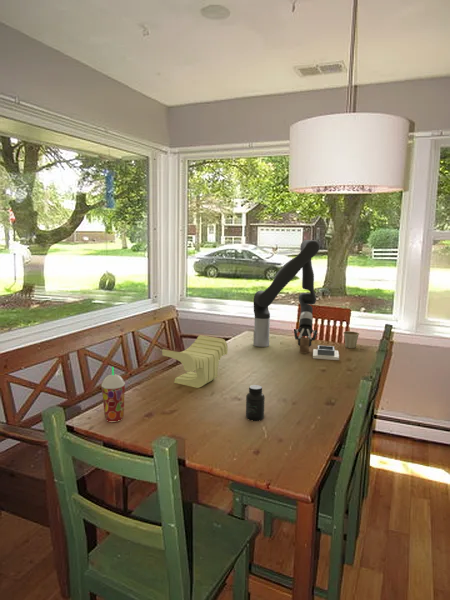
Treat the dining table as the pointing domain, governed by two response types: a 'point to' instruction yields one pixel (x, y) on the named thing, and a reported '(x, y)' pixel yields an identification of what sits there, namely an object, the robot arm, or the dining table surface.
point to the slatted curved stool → (199, 360)
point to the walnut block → (304, 345)
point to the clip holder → (325, 353)
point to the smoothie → (113, 396)
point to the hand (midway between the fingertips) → (304, 345)
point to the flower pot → (351, 339)
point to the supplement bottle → (255, 403)
